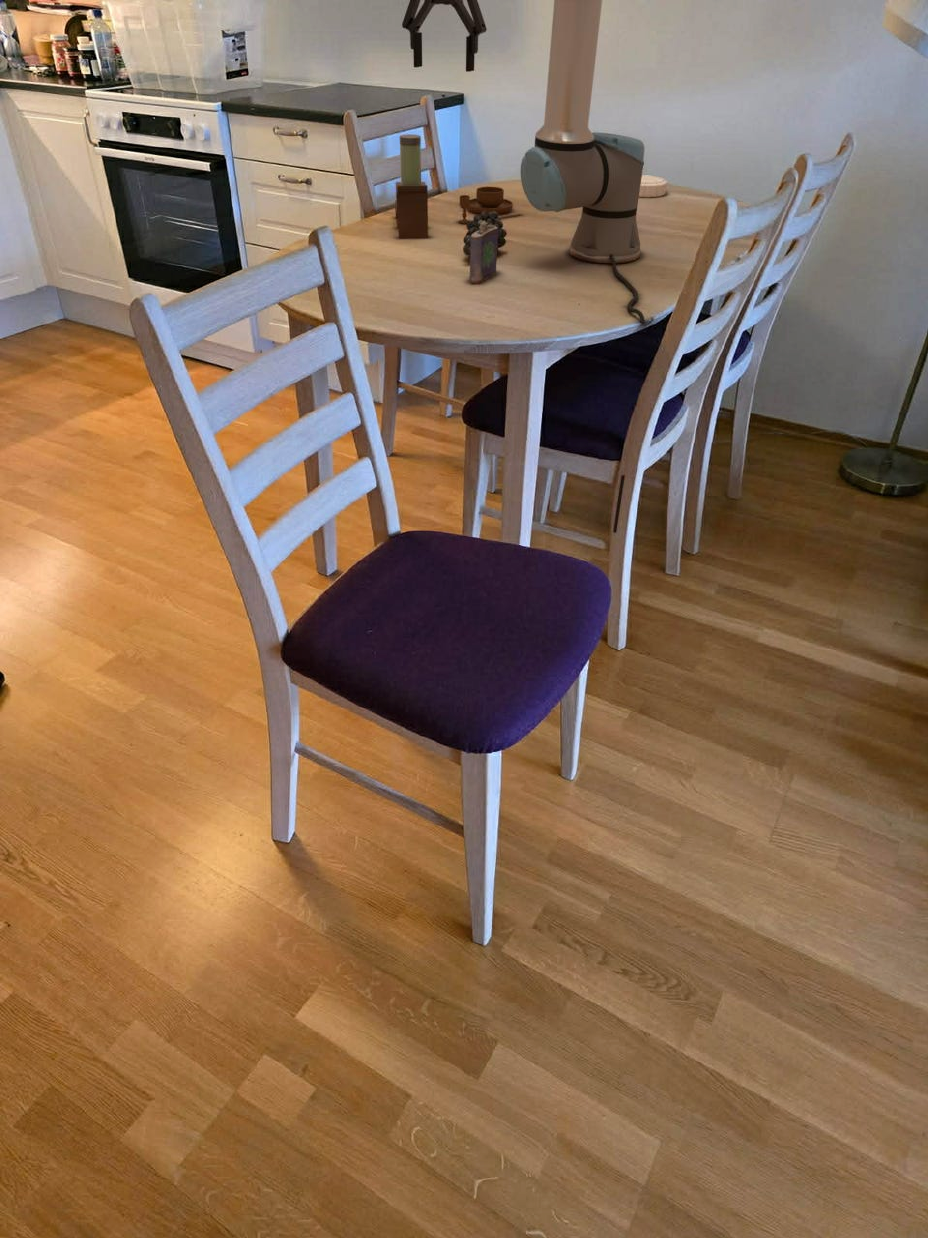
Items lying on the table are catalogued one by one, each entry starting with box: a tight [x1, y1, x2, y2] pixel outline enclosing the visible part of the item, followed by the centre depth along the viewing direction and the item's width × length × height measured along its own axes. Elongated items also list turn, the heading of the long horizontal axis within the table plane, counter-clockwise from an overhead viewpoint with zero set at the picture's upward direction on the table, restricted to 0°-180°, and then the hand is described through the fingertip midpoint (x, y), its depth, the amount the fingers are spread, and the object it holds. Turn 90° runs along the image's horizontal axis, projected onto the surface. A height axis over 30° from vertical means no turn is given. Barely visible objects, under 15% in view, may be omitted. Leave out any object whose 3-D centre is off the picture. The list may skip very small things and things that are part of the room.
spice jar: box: [399, 133, 422, 185], centre depth 188 cm, size 5×5×10 cm
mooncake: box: [639, 174, 668, 198], centre depth 232 cm, size 12×12×4 cm
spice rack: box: [394, 181, 429, 239], centre depth 197 cm, size 19×7×11 cm, turn 6°
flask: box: [469, 220, 498, 285], centre depth 168 cm, size 9×3×11 cm, turn 151°
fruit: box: [462, 211, 508, 259], centre depth 180 cm, size 9×8×15 cm
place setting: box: [458, 186, 522, 225], centre depth 211 cm, size 18×20×6 cm
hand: (443, 68), depth 192 cm, fingers open, 13 cm apart
